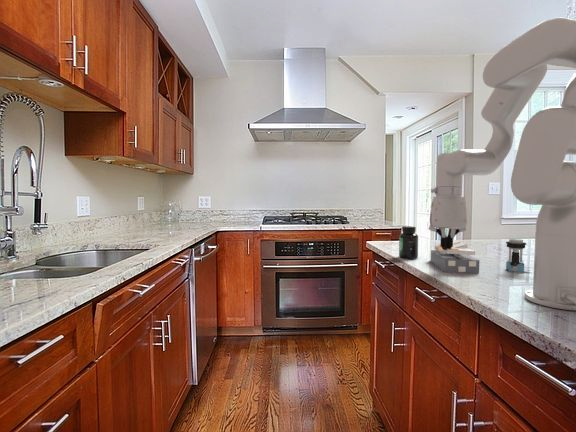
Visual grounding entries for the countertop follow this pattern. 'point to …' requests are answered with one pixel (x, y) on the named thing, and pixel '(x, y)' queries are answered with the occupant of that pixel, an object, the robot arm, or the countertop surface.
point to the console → (455, 262)
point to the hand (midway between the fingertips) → (446, 249)
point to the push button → (515, 255)
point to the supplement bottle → (408, 243)
